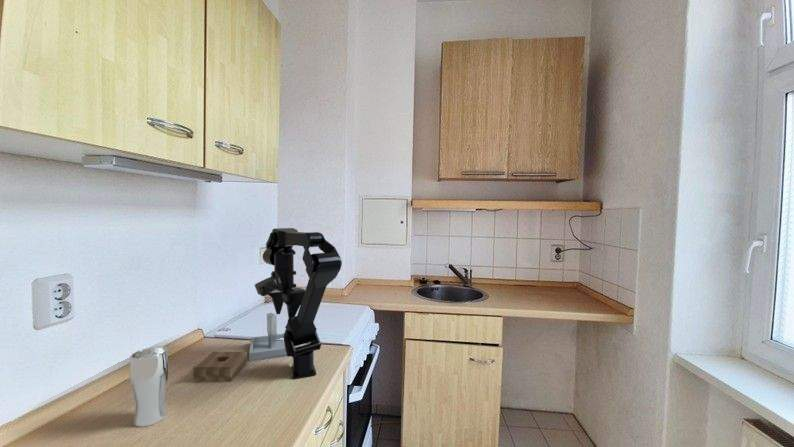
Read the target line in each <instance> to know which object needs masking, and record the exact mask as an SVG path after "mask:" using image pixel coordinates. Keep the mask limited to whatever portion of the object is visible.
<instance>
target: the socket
mask: <svg viewBox="0 0 794 447" xmlns="http://www.w3.org/2000/svg"><path fill="white" fill-rule="evenodd" d="M247 352H248V351H212V352H211V353H210V354H209V355H207V356H206V357H205V358H204V359H202V360H201V361H199V363H197V364H196V365H194V367H193V382H194V383H196V382H197V383H201V382H204V383H205V382H207V383H210V382H211V383H212V382H213V383H214V382H215V383H216V382H219V383H220V382H228V383H230V382H232V381H233V380H234V379H235V378H236V377H237V376H238V375H239V374H240V373H241V371H242V370H243V369H244V368H245V367H246V366H247V365H248V364H247V363H248V362H247V361H248V356H247V355H248V353H247Z"/></svg>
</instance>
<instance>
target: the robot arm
mask: <svg viewBox="0 0 794 447" xmlns="http://www.w3.org/2000/svg"><path fill="white" fill-rule="evenodd" d="M294 246H297V247H303V249H304V250H303V254H302V261H303V263H304V265H305V272H306V274H307V276H308V281H307V284H306V286H305V289H304V288H301V287H297V283H294V282H295V281H294V280H295V278H294V276H296V275H297V271H296V270H294V265H295V264H294V259H295V258H294V257H295V256H294V255H296V254H297V253H296V251H295V250H294V249H293V247H294ZM316 247H317V248H318V249H319V250H320V251H322V252H317V253H312V254H311V252H310V248H316ZM262 260H263V261H264V263H265V264H268V265H271V266H273V268H274V269H273V271H271V272H270V276H269V277H267V278H265V279H262V280H261V281H259V282H256V283H255V284H254V288H255V290H256V292H257V294H258V295H260V296H261V297H265V296H269V297H270V299H271V300H272V304H273V307H274V310H275V315H280V314H281V312H282V310H283V306H284V304H285V306H286V309H287V318H288V319H287V323H286V325H285V327H284V328H285V330H284V332H283V334H284V344H285V350H286V353H287V356H286V357H291V358H292V367H291V368H290V369H291V378H292V379H293V380H294V379H299V378H306V377H312V376H316V375H317V371H316V368H315V364H314V362H315V361H314V360H315V359H314V358H315V357H314V352H315V351H319V350H321V349H322V348H321V347H322V342H321V340H320V337H319V334H318V332H317V330H318V329H317V327H316V325H315V323H314V322H315V319H316V317H317V313H318V311H319V308H320V305H321V303H322V300H323V299H324V298H323V297H324V294H325V292H326V289H327V286H328V285H329V284H330V283H331V282H333V281H334V280H335V279H336V278H337V276H338V274H339V272H340V271H341V268H342V264H343V263H342V258H341V256H340V254H339V253H338V250H337V249H336V247H335V246H334V245H333V244H332V243H331V242H329V241H328V240H326V238H325V237H324V234H323V233H322V232H319V231H317V232H316V231H315V232H313V231H312V232H311V231H310V232H305V231H304V232H303V231H298V229H296V228H293V227H288V228H287V227H282V228H281V227H280V228H278V227H277V228H273V229H272V232H270V234H269V236H268V239H267V241H266V243H265V250H264V251H263V254H262ZM294 346H296V348H295V347H294Z"/></svg>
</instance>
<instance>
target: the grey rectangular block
mask: <svg viewBox="0 0 794 447" xmlns="http://www.w3.org/2000/svg"><path fill="white" fill-rule="evenodd" d="M277 320H278V319H277V314H276V313H272V312H269V313H266V333H267V336H268V347H270V348H275V347H276V335H277V334H278V332H277V331H278V330H277V329H278V328H277V326H278V325H277Z"/></svg>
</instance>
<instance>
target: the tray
mask: <svg viewBox="0 0 794 447" xmlns="http://www.w3.org/2000/svg"><path fill="white" fill-rule="evenodd" d="M280 338H284V333H279V334H278V333H277V335H276V340H277V339H280ZM294 347H295V348H296V347H297V346H294ZM283 357H288V356H287V353H286V350H285V344H284V341H276V347H275V348H270V347H268V335H261V336H253V337H251V338H250V347H249V353H248V360H249V362H254V361H256V362H257V361H261V360H268V359H277V358H283Z"/></svg>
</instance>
